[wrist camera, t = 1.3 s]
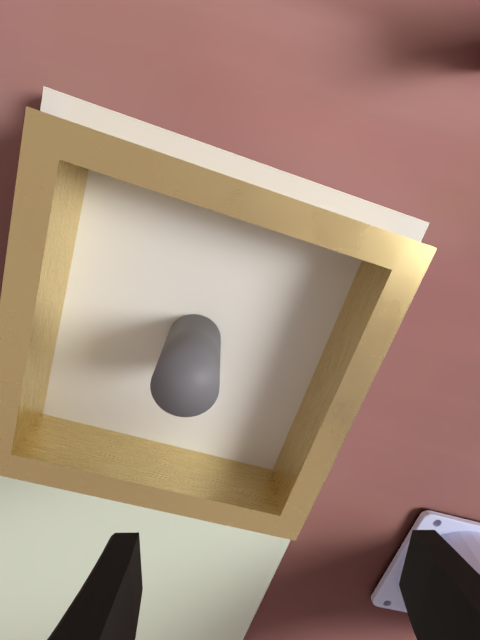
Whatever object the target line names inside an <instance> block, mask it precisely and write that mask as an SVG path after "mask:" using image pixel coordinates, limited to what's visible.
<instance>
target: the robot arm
mask: <svg viewBox="0 0 480 640" xmlns="http://www.w3.org/2000/svg"><path fill="white" fill-rule="evenodd" d="M142 590H143V586H142V570H141V554H140V538H139V532H138V533H114V534H113V535H112V536H111V537H110V539H109V541H108V543H107V545H106V546H105V548H104V550H103V552H102V554H101V555H100V557H99V559H98V561H97V563H96V564H95V566H94V568H93V569H92V571H91V573H90V574H89V576H88V578H87V579H86V581H85V583H84V584H83V586H82V588H81V589H80V591H79V592H78V594H77V595H76V597H75V598H74V600H73V602H72V603H71V605H70V606H69V608H68V609H67V611H66V612H65V614H64V615H63V617H62V619H61V620H60V622H59V623H58V625H57V626H56V628H55V629H54V630H53V632H52V633H51V635H50V636H49V638H48V639H47V640H135V638H136V631H137V625H138V618H139V611H140V604H141V597H142ZM371 600H372V603H373V604H374V605H375V606H377V607H382V608H387V609H391V610H396V611H401V612H406V613H408V616H409V619H410V622H411V624H412V627H413V630H414V633H415V635H416V638H417V640H480V522H476V521H472V520H468V519H463V518H459V517H455V516H451V515H447V514H443V513H439V512H435V511H430V510H426V511H423V512H422V513H421V514H420V515H419V517H418V518H417V520H416V522H415V523H414V525H413V527H412V528H411V530H410V532H409V533H408V535H407V537H406V538H405V540H404V542H403V543H402V545H401V547H400V548H399V550H398V552H397V553H396V555H395V557H394V558H393V560H392V562H391V563H390V565H389V567H388V569H387V570H386V572H385V574H384V575H383V577H382V579H381V580H380V582H379V584H378V585H377V587H376V589H375V590H374V592H373V594H372V595H371Z"/></svg>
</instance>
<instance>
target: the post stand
mask: <svg viewBox="0 0 480 640" xmlns="http://www.w3.org/2000/svg"><path fill="white" fill-rule="evenodd" d="M40 111H42V112H45V113H48V114H51V115H54V116H56V117H59V118H62V119H65V120H68V121H71V122H74V123H77V124H80V125H82V126H85V127H88V128H91V129H94V130H97V131H100V132H103V133H106V134H109V135H111V136H114V137H117V138H120V139H123V140H126V141H129V142H132V143H135V144H137V145H140V146H143V147H146V148H149V149H152V150H155V151H158V152H161V153H163V154H166V155H169V156H172V157H175V158H178V159H181V160H184V161H187V162H190V163H192V164H195V165H198V166H201V167H204V168H207V169H210V170H213V171H216V172H218V173H221V174H224V175H227V176H230V177H233V178H236V179H239V180H242V181H245V182H247V183H250V184H253V185H256V186H259V187H262V188H265V189H268V190H271V191H273V192H276V193H279V194H282V195H285V196H288V197H291V198H294V199H297V200H299V201H302V202H305V203H308V204H311V205H314V206H317V207H320V208H323V209H326V210H328V211H331V212H334V213H337V214H340V215H343V216H346V217H349V218H352V219H354V220H357V221H360V222H363V223H366V224H369V225H372V226H375V227H378V228H380V229H383V230H386V231H389V232H392V233H395V234H398V235H401V236H404V237H407V238H409V239H412V240H415V241H418V242H421V240H422V238H423V236H424V234H425V232H426V230H427V227H428V225H429V223H428V222H425V221H423V220H420V219H417V218H414V217H411V216H409V215H406V214H403V213H400V212H397V211H394V210H392V209H389V208H386V207H383V206H380V205H378V204H375V203H372V202H369V201H366V200H363V199H361V198H358V197H355V196H352V195H349V194H346V193H344V192H341V191H338V190H335V189H332V188H330V187H327V186H324V185H321V184H318V183H315V182H313V181H310V180H307V179H304V178H301V177H298V176H296V175H293V174H290V173H287V172H284V171H282V170H279V169H276V168H273V167H270V166H267V165H265V164H262V163H259V162H256V161H253V160H250V159H248V158H245V157H242V156H239V155H236V154H234V153H231V152H228V151H225V150H222V149H219V148H217V147H214V146H211V145H208V144H205V143H203V142H200V141H197V140H194V139H191V138H188V137H186V136H183V135H180V134H177V133H174V132H171V131H169V130H166V129H163V128H160V127H157V126H155V125H152V124H149V123H146V122H143V121H140V120H138V119H135V118H132V117H129V116H126V115H123V114H121V113H118V112H115V111H112V110H109V109H107V108H104V107H101V106H98V105H95V104H92V103H90V102H87V101H84V100H81V99H78V98H76V97H73V96H70V95H67V94H64V93H61V92H59V91H56V90H53V89H50V88H47V87H44V88H43V95H42V101H41V108H40ZM361 262H362V260H361V259H358V258H355V257H352V256H349V255H346V254H343V253H340V252H337V251H334V250H331V249H328V248H325V247H322V246H319V245H316V244H313V243H310V242H307V241H304V240H301V239H297V238H294V237H291V236H288V235H285V234H282V233H279V232H276V231H273V230H270V229H267V228H264V227H261V226H258V225H255V224H252V223H249V222H246V221H243V220H240V219H237V218H234V217H231V216H228V215H225V214H222V213H219V212H216V211H213V210H210V209H207V208H204V207H201V206H198V205H195V204H192V203H189V202H186V201H183V200H180V199H177V198H174V197H171V196H168V195H165V194H162V193H159V192H156V191H153V190H150V189H147V188H144V187H141V186H138V185H135V184H132V183H129V182H125V181H122V180H119V179H116V178H113V177H110V176H107V175H104V174H101V173H98V172H95V171H92V170H89V172H88V177H87V182H86V188H85V193H84V198H83V204H82V209H81V214H80V220H79V225H78V230H77V236H76V241H75V246H74V252H73V257H72V262H71V268H70V273H69V278H68V283H67V289H66V294H65V299H64V305H63V310H62V315H61V321H60V326H59V331H58V337H57V342H56V347H55V353H54V358H53V363H52V369H51V374H50V379H49V385H48V390H47V395H46V400H45V406H44V411H43V414H46V415H50V416H54V417H58V418H62V419H66V420H70V421H74V422H78V423H82V424H87V425H91V426H95V427H99V428H103V429H107V430H111V431H115V432H119V433H123V434H128V435H132V436H136V437H140V438H144V439H148V440H152V441H156V442H160V443H164V444H169V445H173V446H177V447H181V448H185V449H189V450H193V451H197V452H201V453H205V454H209V455H214V456H218V457H222V458H226V459H230V460H234V461H238V462H242V463H246V464H250V465H255V466H259V467H263V468H267V469H271V470H273V468H274V466H275V463H276V461H277V459H278V456H279V454H280V452H281V449H282V447H283V445H284V442H285V440H286V438H287V435H288V433H289V430H290V428H291V426H292V423H293V421H294V419H295V416H296V414H297V412H298V409H299V407H300V405H301V402H302V400H303V398H304V395H305V393H306V391H307V388H308V386H309V384H310V381H311V379H312V377H313V374H314V372H315V369H316V367H317V365H318V362H319V360H320V358H321V355H322V353H323V351H324V348H325V346H326V344H327V341H328V339H329V337H330V334H331V332H332V330H333V327H334V325H335V323H336V320H337V318H338V316H339V313H340V311H341V308H342V306H343V304H344V301H345V299H346V297H347V294H348V292H349V290H350V287H351V285H352V283H353V280H354V278H355V276H356V273H357V271H358V269H359V266H360V264H361Z"/></svg>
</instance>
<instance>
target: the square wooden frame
mask: <svg viewBox="0 0 480 640" xmlns="http://www.w3.org/2000/svg"><path fill="white" fill-rule="evenodd" d="M89 170H92V171H95V172H98V173H101V174H104V175H107V176H110V177H113V178H116V179H119V180H122V181H125V182H129V183H132V184H135V185H138V186H141V187H144V188H147V189H150V190H153V191H156V192H159V193H162V194H165V195H168V196H171V197H174V198H177V199H180V200H183V201H186V202H189V203H192V204H195V205H198V206H201V207H204V208H207V209H210V210H213V211H216V212H219V213H222V214H225V215H228V216H231V217H234V218H237V219H240V220H243V221H246V222H249V223H252V224H255V225H258V226H261V227H264V228H267V229H270V230H273V231H276V232H279V233H282V234H285V235H288V236H291V237H294V238H297V239H301V240H304V241H307V242H310V243H313V244H316V245H319V246H322V247H325V248H328V249H331V250H334V251H337V252H340V253H343V254H346V255H349V256H352V257H355V258H358V259H361V260H362V262H361V264H360V266H359V269H358V271H357V273H356V276H355V278H354V280H353V283H352V285H351V287H350V290H349V292H348V294H347V297H346V299H345V301H344V304H343V306H342V308H341V311H340V313H339V316H338V318H337V320H336V323H335V325H334V327H333V330H332V332H331V334H330V337H329V339H328V341H327V344H326V346H325V348H324V351H323V353H322V355H321V358H320V360H319V362H318V365H317V367H316V369H315V372H314V374H313V377H312V379H311V381H310V384H309V386H308V388H307V391H306V393H305V395H304V398H303V400H302V402H301V405H300V407H299V409H298V412H297V414H296V416H295V419H294V421H293V423H292V426H291V428H290V430H289V433H288V435H287V438H286V440H285V442H284V445H283V447H282V449H281V452H280V454H279V456H278V459H277V461H276V463H275V466H274V468H273V470H271V469H267V468H263V467H259V466H255V465H250V464H246V463H242V462H238V461H234V460H230V459H226V458H222V457H218V456H214V455H209V454H205V453H201V452H197V451H193V450H189V449H185V448H181V447H177V446H173V445H169V444H164V443H160V442H156V441H152V440H148V439H144V438H140V437H136V436H132V435H128V434H123V433H119V432H115V431H111V430H107V429H103V428H99V427H95V426H91V425H87V424H82V423H78V422H74V421H70V420H66V419H62V418H58V417H54V416H50V415H46V414H43V411H44V406H45V400H46V395H47V390H48V385H49V379H50V374H51V369H52V363H53V358H54V353H55V347H56V342H57V337H58V331H59V326H60V321H61V315H62V310H63V305H64V299H65V294H66V289H67V283H68V278H69V273H70V268H71V262H72V257H73V252H74V246H75V241H76V236H77V230H78V225H79V220H80V214H81V209H82V204H83V198H84V193H85V188H86V182H87V177H88V172H89ZM436 249H437V248H435V247H433V246H430V245H427V244H424V243H421V242H418V241H415V240H412V239H409V238H407V237H404V236H401V235H398V234H395V233H392V232H389V231H386V230H383V229H380V228H378V227H375V226H372V225H369V224H366V223H363V222H360V221H357V220H354V219H352V218H349V217H346V216H343V215H340V214H337V213H334V212H331V211H328V210H326V209H323V208H320V207H317V206H314V205H311V204H308V203H305V202H302V201H299V200H297V199H294V198H291V197H288V196H285V195H282V194H279V193H276V192H273V191H271V190H268V189H265V188H262V187H259V186H256V185H253V184H250V183H247V182H245V181H242V180H239V179H236V178H233V177H230V176H227V175H224V174H221V173H218V172H216V171H213V170H210V169H207V168H204V167H201V166H198V165H195V164H192V163H190V162H187V161H184V160H181V159H178V158H175V157H172V156H169V155H166V154H163V153H161V152H158V151H155V150H152V149H149V148H146V147H143V146H140V145H137V144H135V143H132V142H129V141H126V140H123V139H120V138H117V137H114V136H111V135H109V134H106V133H103V132H100V131H97V130H94V129H91V128H88V127H85V126H82V125H80V124H77V123H74V122H71V121H68V120H65V119H62V118H59V117H56V116H54V115H51V114H48V113H45V112H42V111H39V110H36V109H33V108H30V107H27V106H26V111H25V118H24V126H23V133H22V141H21V148H20V156H19V163H18V170H17V178H16V185H15V193H14V200H13V208H12V215H11V223H10V230H9V238H8V245H7V253H6V260H5V268H4V275H3V283H2V290H1V298H0V476H3V477H8V478H12V479H17V480H21V481H26V482H31V483H35V484H40V485H44V486H49V487H53V488H58V489H62V490H67V491H71V492H76V493H81V494H85V495H90V496H94V497H99V498H103V499H108V500H112V501H117V502H121V503H126V504H130V505H135V506H140V507H144V508H149V509H153V510H158V511H162V512H167V513H171V514H176V515H180V516H185V517H190V518H194V519H199V520H203V521H208V522H212V523H217V524H221V525H226V526H230V527H235V528H240V529H244V530H249V531H253V532H258V533H262V534H267V535H271V536H276V537H280V538H285V539H290V540H294V541H296V539H297V537H298V535H299V533H300V531H301V529H302V527H303V525H304V523H305V521H306V518H307V516H308V514H309V512H310V510H311V508H312V506H313V504H314V502H315V500H316V498H317V496H318V494H319V492H320V490H321V487H322V485H323V483H324V481H325V479H326V477H327V475H328V473H329V471H330V469H331V467H332V465H333V463H334V461H335V458H336V456H337V454H338V452H339V450H340V448H341V446H342V444H343V442H344V440H345V438H346V436H347V434H348V432H349V429H350V427H351V425H352V423H353V421H354V419H355V417H356V415H357V413H358V411H359V409H360V407H361V405H362V403H363V400H364V398H365V396H366V394H367V392H368V390H369V388H370V386H371V384H372V382H373V380H374V378H375V376H376V374H377V372H378V369H379V367H380V365H381V363H382V361H383V359H384V357H385V355H386V353H387V351H388V349H389V347H390V345H391V343H392V340H393V338H394V336H395V334H396V332H397V330H398V328H399V326H400V324H401V322H402V320H403V318H404V316H405V314H406V311H407V309H408V307H409V305H410V303H411V301H412V299H413V297H414V295H415V293H416V291H417V289H418V287H419V285H420V282H421V280H422V278H423V276H424V274H425V272H426V270H427V268H428V266H429V264H430V262H431V260H432V258H433V256H434V254H435V251H436Z"/></svg>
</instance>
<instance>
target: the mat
mask: <svg viewBox="0 0 480 640" xmlns="http://www.w3.org/2000/svg"><path fill="white" fill-rule="evenodd" d="M138 532H139V538H140V554H141V570H142V586H143V590H142V597H141V604H140V611H139V618H138V625H137V631H136V638H135V640H243V639H244V637H245V635H246V632H247V630H248V628H249V626H250V624H251V622H252V620H253V618H254V616H255V614H256V611H257V609H258V607H259V605H260V603H261V601H262V599H263V597H264V595H265V593H266V591H267V588H268V586H269V584H270V582H271V580H272V578H273V576H274V574H275V572H276V570H277V567H278V565H279V563H280V561H281V559H282V557H283V555H284V553H285V551H286V549H287V547H288V544H289V542H290V539H285V538H280V537H276V536H271V535H267V534H262V533H258V532H253V531H249V530H244V529H240V528H235V527H230V526H226V525H221V524H217V523H212V522H208V521H203V520H199V519H194V518H190V517H185V516H180V515H176V514H171V513H167V512H162V511H158V510H153V509H149V508H144V507H140V506H135V505H130V504H126V503H121V502H117V501H112V500H108V499H103V498H99V497H94V496H90V495H85V494H81V493H76V492H71V491H67V490H62V489H58V488H53V487H49V486H44V485H40V484H35V483H31V482H26V481H21V480H17V479H12V478H8V477H3V476H0V640H47V639H48V638H49V636H50V635H51V633H52V632H53V630H54V629H55V628H56V626H57V625H58V623H59V622H60V620H61V619H62V617H63V615H64V614H65V612H66V611H67V609H68V608H69V606H70V605H71V603H72V602H73V600H74V598H75V597H76V595H77V594H78V592H79V591H80V589H81V588H82V586H83V584H84V583H85V581H86V579H87V578H88V576H89V574H90V573H91V571H92V569H93V568H94V566H95V564H96V563H97V561H98V559H99V557H100V555H101V554H102V552H103V550H104V548H105V546H106V545H107V543H108V541H109V539H110V537H111V536H112V535H113V534H114V533H138Z"/></svg>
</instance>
